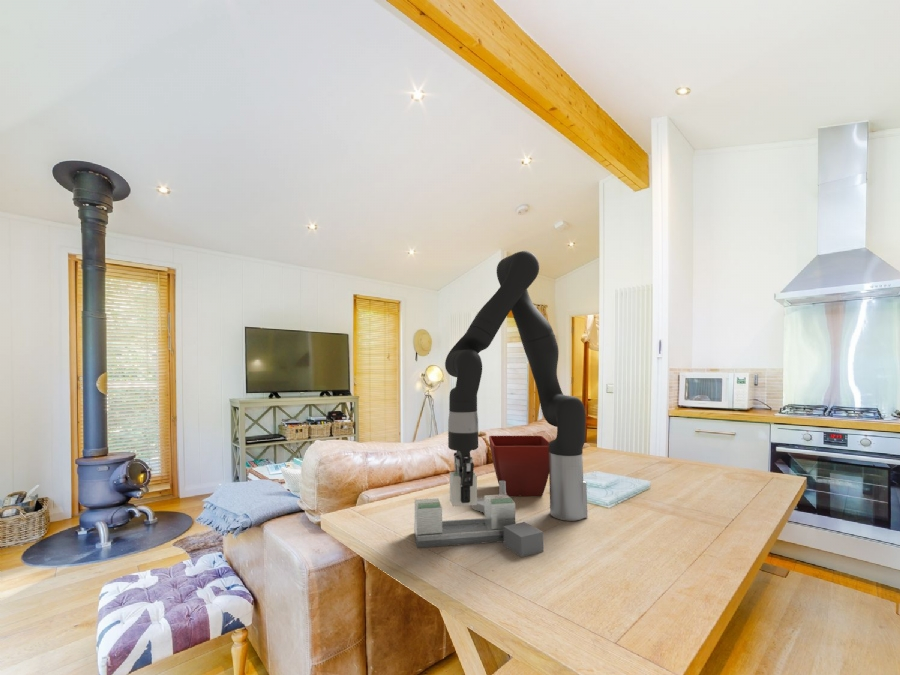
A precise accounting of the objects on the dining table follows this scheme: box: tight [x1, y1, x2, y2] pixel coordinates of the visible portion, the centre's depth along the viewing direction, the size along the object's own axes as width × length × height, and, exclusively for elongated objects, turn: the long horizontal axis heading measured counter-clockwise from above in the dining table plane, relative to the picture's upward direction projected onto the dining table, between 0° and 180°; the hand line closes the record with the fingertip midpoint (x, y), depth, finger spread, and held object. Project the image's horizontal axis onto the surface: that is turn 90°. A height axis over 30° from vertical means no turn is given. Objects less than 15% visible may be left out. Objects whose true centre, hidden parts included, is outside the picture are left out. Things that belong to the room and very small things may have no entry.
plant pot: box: [488, 435, 550, 498], centre depth 141 cm, size 19×19×17 cm
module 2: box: [503, 521, 544, 558], centre depth 97 cm, size 6×7×4 cm
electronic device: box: [471, 481, 506, 514], centre depth 121 cm, size 5×10×15 cm
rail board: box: [413, 494, 516, 549], centre depth 104 cm, size 24×9×9 cm, turn 99°
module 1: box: [449, 471, 478, 507], centre depth 105 cm, size 6×4×7 cm
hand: (463, 498), depth 105 cm, fingers closed on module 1, 4 cm apart
